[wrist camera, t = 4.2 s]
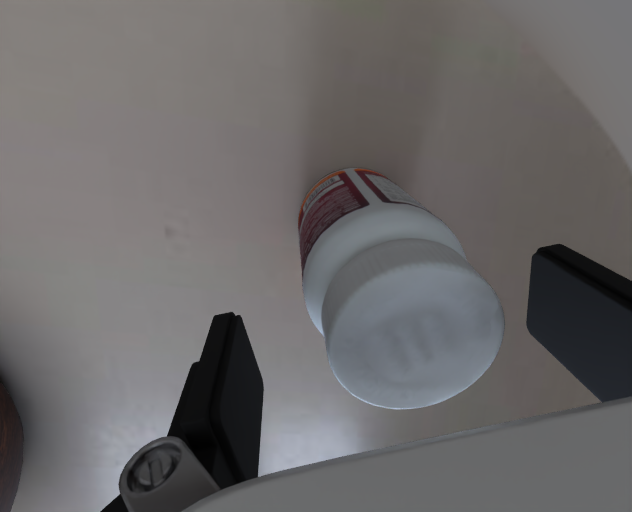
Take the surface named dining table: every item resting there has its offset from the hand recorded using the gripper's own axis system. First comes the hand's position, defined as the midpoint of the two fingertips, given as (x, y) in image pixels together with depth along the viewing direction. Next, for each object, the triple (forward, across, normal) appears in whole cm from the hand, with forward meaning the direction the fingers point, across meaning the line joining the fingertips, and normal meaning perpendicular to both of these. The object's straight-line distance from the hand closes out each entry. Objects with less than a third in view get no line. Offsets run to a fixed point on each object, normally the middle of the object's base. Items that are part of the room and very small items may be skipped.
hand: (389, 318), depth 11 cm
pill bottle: (+10, 0, 0) cm, 10 cm away
